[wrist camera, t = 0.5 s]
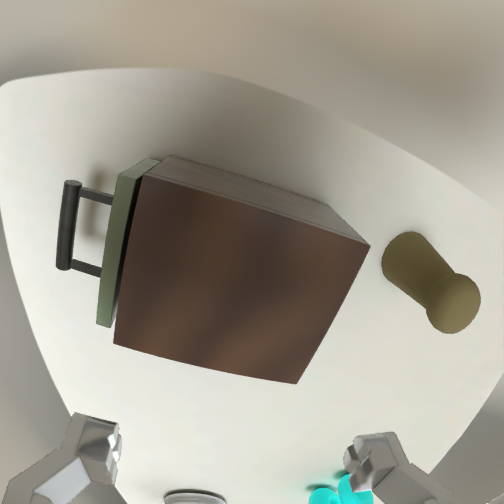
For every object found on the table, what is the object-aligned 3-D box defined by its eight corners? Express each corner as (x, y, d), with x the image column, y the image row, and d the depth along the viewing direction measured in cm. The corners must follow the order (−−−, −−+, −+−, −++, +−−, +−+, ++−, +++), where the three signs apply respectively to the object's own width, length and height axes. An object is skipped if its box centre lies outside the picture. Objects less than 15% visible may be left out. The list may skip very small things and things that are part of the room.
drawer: (76, 261, 28) (40, 304, 21) (95, 144, 24) (51, 157, 17) (256, 312, 32) (265, 366, 25) (300, 204, 28) (326, 236, 21)
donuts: (302, 487, 51) (310, 528, 42) (343, 466, 49) (356, 509, 40) (329, 494, 55) (338, 530, 46) (368, 475, 52) (380, 512, 43)
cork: (382, 290, 33) (431, 354, 23) (379, 239, 31) (439, 295, 21) (428, 275, 33) (484, 330, 23) (428, 226, 30) (495, 273, 20)
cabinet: (139, 281, 30) (112, 343, 22) (170, 154, 26) (142, 174, 17) (279, 318, 33) (296, 384, 25) (328, 205, 29) (371, 245, 20)
